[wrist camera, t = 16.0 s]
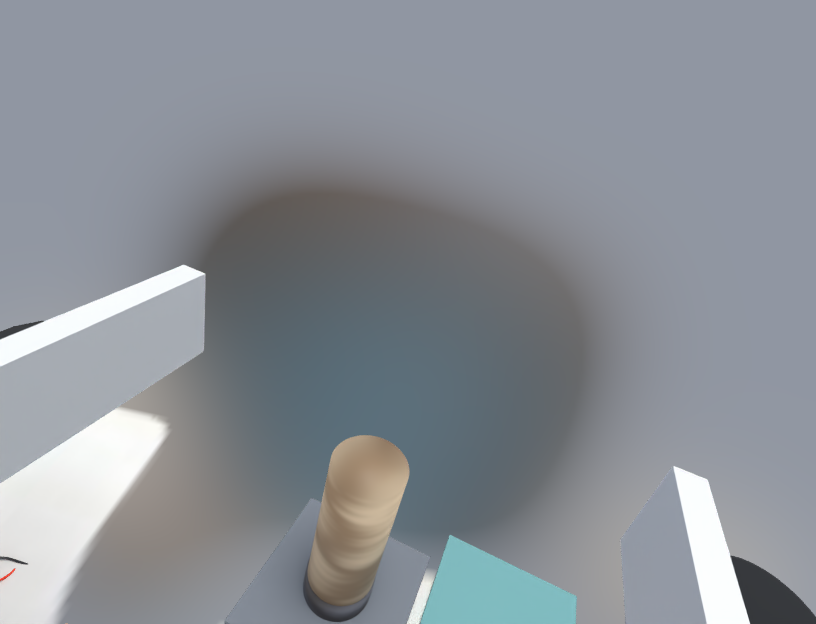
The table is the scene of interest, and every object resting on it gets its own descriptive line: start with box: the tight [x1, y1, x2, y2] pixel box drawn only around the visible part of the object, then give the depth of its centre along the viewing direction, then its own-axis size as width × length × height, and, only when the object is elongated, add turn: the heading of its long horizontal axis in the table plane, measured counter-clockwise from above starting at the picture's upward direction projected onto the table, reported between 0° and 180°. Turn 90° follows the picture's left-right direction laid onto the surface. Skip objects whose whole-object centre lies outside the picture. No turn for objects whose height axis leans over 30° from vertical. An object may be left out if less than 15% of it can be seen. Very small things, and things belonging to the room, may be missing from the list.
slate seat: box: [225, 498, 430, 624], centre depth 37 cm, size 12×12×1 cm
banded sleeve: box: [303, 435, 409, 622], centre depth 34 cm, size 5×5×14 cm
